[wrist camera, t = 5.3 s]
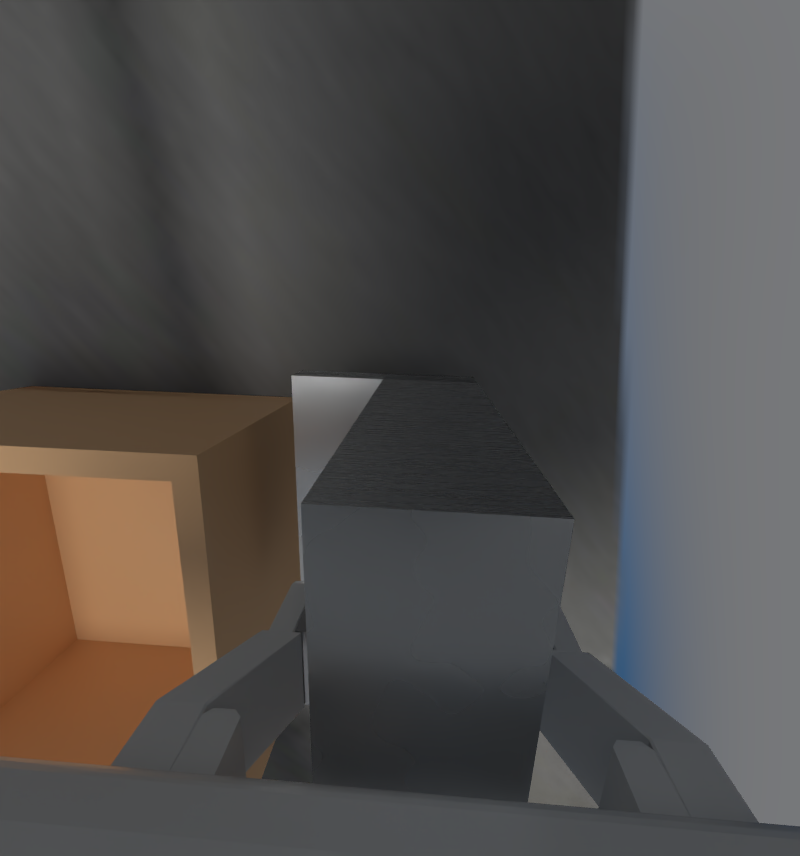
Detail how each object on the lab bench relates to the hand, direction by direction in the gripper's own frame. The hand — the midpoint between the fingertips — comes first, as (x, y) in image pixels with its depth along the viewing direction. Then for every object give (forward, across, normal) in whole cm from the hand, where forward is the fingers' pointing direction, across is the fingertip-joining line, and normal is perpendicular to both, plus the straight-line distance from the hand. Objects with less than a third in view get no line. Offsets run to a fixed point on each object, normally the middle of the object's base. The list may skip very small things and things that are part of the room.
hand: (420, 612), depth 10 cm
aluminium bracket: (+6, +1, -1) cm, 6 cm away
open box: (+11, +13, +5) cm, 18 cm away
